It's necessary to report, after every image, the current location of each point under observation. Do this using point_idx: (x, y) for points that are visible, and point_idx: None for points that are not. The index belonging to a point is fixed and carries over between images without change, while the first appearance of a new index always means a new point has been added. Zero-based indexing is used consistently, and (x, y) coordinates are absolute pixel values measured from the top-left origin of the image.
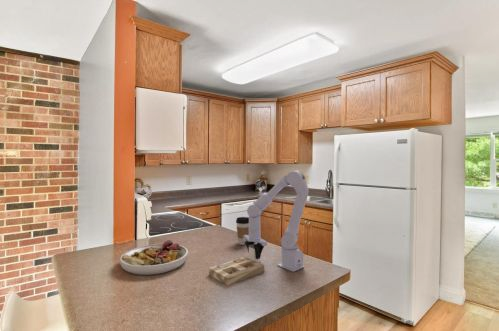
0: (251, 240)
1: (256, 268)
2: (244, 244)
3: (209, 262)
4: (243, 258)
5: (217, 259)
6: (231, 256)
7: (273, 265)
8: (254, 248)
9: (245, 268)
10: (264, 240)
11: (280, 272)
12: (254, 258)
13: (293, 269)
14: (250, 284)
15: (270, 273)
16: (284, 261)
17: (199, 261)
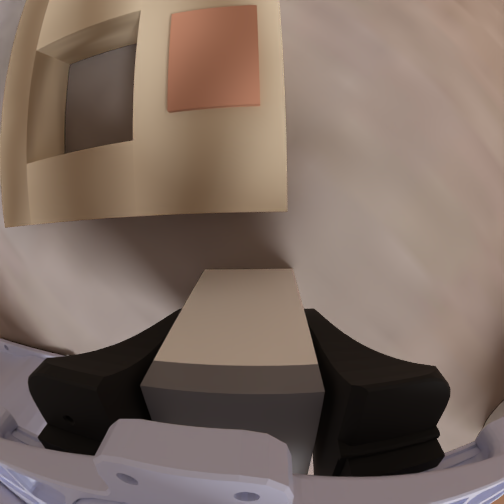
0: (109, 476)
1: (6, 135)
2: (494, 411)
3: (465, 17)
4: (246, 154)
5: (490, 92)
6: (479, 222)
7: (95, 349)
8: (151, 366)
9: (40, 42)
10: (29, 500)
11: (7, 290)
12: (192, 291)
13: (2, 352)
14: (3, 48)
15: (12, 232)
16: (17, 375)
17: (497, 7)
